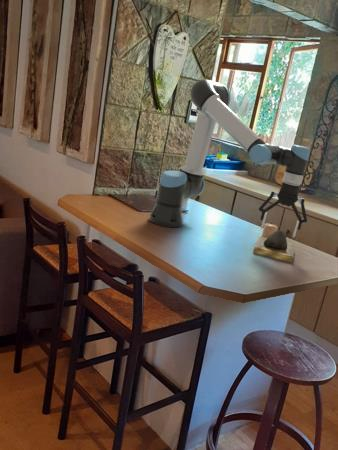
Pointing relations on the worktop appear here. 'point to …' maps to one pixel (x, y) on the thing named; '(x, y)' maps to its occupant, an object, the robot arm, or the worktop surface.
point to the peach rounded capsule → (269, 230)
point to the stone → (276, 240)
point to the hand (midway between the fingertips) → (277, 232)
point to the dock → (274, 250)
